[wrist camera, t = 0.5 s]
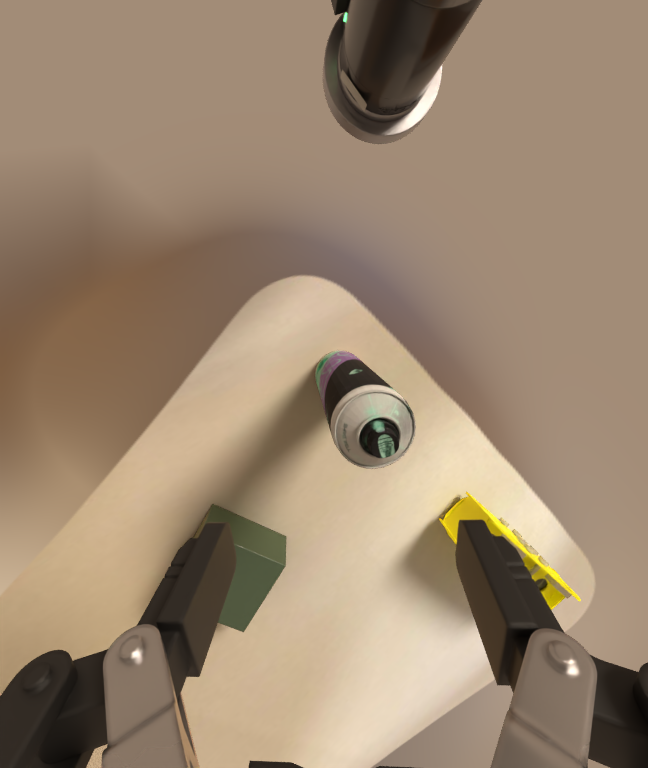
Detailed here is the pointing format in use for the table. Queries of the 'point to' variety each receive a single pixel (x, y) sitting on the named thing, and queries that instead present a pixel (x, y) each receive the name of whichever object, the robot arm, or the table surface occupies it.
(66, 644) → the table surface
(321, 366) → the spray can
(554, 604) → the yellow toy chassis
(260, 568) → the sage block
